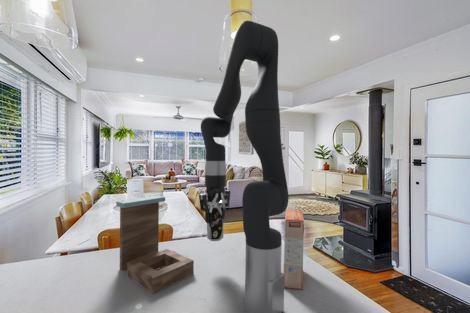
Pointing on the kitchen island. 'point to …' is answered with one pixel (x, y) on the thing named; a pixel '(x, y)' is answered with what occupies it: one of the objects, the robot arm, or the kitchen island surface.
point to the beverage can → (215, 224)
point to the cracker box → (293, 249)
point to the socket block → (158, 280)
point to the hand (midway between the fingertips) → (215, 220)
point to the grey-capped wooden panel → (138, 228)
